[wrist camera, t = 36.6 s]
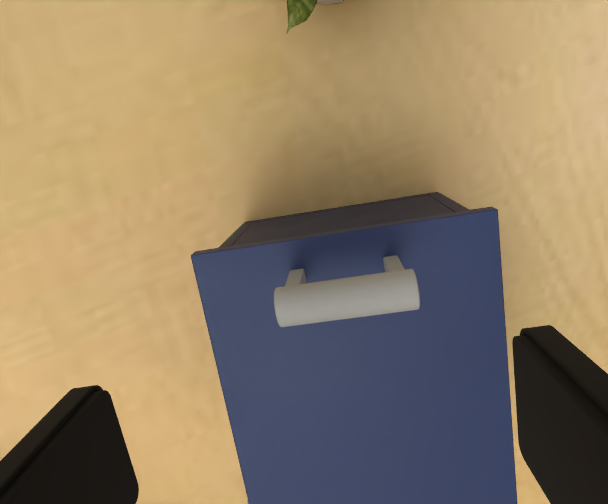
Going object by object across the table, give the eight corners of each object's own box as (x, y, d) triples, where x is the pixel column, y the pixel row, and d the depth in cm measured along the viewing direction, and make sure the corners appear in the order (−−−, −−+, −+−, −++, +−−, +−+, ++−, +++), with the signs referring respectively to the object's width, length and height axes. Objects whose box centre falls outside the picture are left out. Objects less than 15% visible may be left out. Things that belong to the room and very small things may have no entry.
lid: (195, 251, 23) (151, 287, 18) (492, 206, 21) (545, 230, 16) (258, 524, 27) (239, 622, 21) (512, 503, 25) (561, 603, 20)
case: (244, 221, 35) (198, 266, 23) (438, 191, 33) (493, 222, 22) (281, 406, 39) (258, 523, 27) (457, 386, 37) (512, 502, 25)
